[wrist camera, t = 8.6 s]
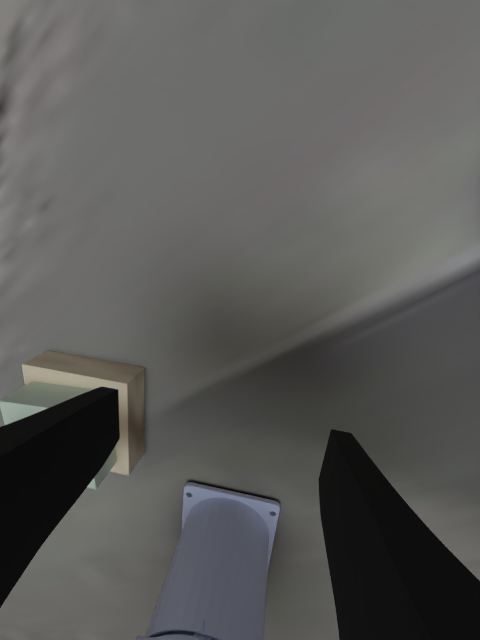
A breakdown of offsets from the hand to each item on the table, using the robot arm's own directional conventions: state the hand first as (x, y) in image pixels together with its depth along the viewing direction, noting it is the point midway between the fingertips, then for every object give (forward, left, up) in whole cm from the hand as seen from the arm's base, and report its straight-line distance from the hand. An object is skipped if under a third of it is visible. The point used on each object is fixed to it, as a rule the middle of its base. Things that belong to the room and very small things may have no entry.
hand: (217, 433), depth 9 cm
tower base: (-8, +12, -11) cm, 18 cm away
